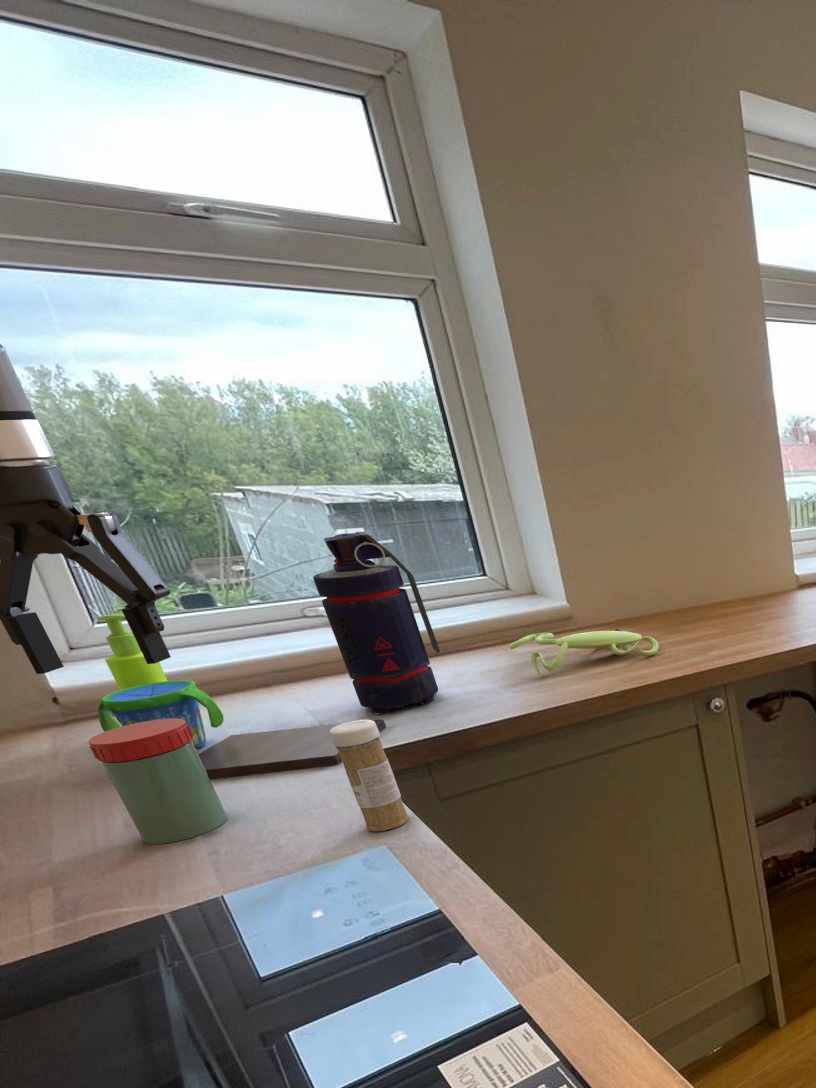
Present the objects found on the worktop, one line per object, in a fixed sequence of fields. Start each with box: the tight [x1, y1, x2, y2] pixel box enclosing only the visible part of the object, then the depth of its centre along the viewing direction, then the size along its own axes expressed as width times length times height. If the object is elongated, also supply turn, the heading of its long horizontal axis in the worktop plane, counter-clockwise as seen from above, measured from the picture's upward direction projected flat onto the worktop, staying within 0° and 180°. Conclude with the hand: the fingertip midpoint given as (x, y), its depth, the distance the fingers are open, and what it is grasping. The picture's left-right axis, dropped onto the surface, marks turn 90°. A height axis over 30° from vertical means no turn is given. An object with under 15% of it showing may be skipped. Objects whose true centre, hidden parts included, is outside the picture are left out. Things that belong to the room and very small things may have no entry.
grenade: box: [312, 531, 441, 715], centre depth 142 cm, size 14×12×30 cm
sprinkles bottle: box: [329, 719, 410, 832], centre depth 99 cm, size 5×5×13 cm
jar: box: [101, 740, 228, 845], centre depth 101 cm, size 8×8×13 cm
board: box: [198, 718, 387, 780], centre depth 126 cm, size 22×16×2 cm
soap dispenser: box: [96, 612, 169, 690], centre depth 136 cm, size 6×7×20 cm
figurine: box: [508, 628, 660, 678], centre depth 169 cm, size 18×27×6 cm
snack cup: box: [97, 679, 225, 750], centre depth 128 cm, size 16×10×10 cm
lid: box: [87, 718, 193, 763], centre depth 98 cm, size 9×9×2 cm
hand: (105, 665), depth 95 cm, fingers open, 10 cm apart
